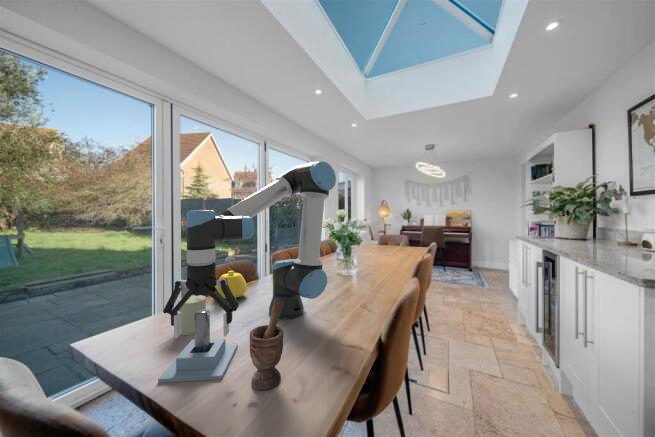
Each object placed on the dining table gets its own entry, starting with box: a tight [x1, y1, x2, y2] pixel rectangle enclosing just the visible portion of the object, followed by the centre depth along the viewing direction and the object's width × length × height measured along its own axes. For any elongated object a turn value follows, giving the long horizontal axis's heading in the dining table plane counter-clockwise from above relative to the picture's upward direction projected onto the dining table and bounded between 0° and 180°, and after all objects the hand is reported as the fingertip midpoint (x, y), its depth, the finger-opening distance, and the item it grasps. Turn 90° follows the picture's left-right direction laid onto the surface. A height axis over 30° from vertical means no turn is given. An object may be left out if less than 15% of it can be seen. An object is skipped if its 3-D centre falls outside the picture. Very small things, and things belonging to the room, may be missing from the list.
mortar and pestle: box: [249, 298, 284, 391], centre depth 67 cm, size 12×9×20 cm
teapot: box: [215, 270, 248, 301], centre depth 127 cm, size 20×16×14 cm
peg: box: [194, 308, 211, 353], centre depth 74 cm, size 4×4×14 cm
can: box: [177, 295, 207, 336], centre depth 94 cm, size 9×9×12 cm
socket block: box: [157, 337, 239, 384], centre depth 74 cm, size 16×16×4 cm
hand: (202, 335), depth 74 cm, fingers open, 13 cm apart
